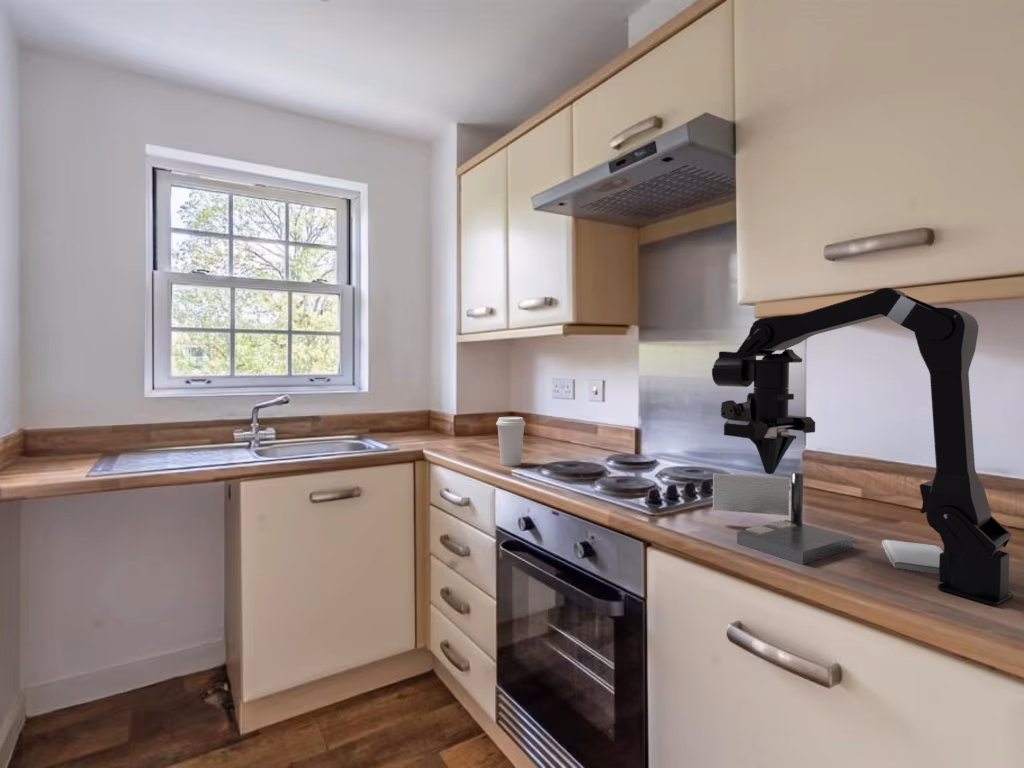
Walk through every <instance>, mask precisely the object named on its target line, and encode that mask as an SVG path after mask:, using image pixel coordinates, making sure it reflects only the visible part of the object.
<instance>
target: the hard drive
mask: <svg viewBox="0 0 1024 768" xmlns="http://www.w3.org/2000/svg"><path fill="white" fill-rule="evenodd" d="M882 545H883V546H882ZM881 546H882V547H884V548H883V549H885V550H884V551H885V553H886V555H887V558H888V559H889V561H890V563H891V562H892V563H891V565H892V564H893V565H892V566H894V567H895V568H894V567H893V568H894V569H898V568H901V569H900V570H905V569H907V570H906V571H912V570H913V571H914V572H919V571H920V573H926V572H927V573H928V574H934V575H939V557H940V553H942V552H944V550H943V549H942V548H941V547H940V546H938V545H933V544H925V543H916V542H909V541H908V542H907V541H900V540H892V539H891V540H890V539H882V540H881Z"/></svg>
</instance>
